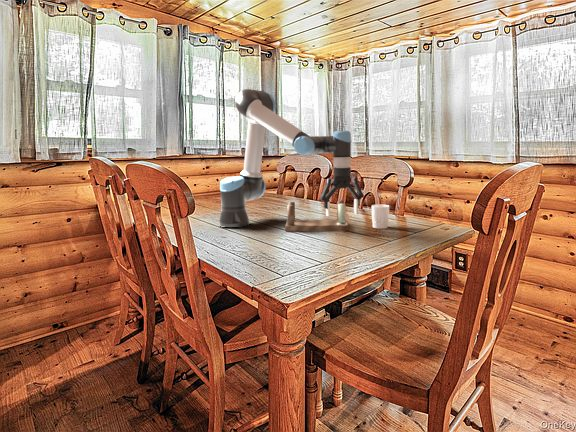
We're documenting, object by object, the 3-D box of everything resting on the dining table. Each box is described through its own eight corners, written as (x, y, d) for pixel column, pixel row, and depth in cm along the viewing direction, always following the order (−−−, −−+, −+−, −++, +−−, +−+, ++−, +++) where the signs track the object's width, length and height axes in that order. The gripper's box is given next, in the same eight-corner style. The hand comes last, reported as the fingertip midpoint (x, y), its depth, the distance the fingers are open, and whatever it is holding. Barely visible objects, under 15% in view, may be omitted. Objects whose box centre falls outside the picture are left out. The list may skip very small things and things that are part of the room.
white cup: (389, 229, 169) (390, 207, 167) (371, 229, 171) (371, 207, 169) (388, 225, 177) (388, 204, 175) (371, 225, 179) (371, 204, 177)
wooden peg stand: (285, 231, 171) (284, 206, 168) (287, 225, 184) (286, 201, 181) (348, 230, 169) (348, 205, 167) (345, 224, 182) (345, 200, 180)
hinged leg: (337, 220, 178) (337, 201, 176) (344, 220, 178) (344, 201, 176) (338, 224, 169) (338, 204, 168) (345, 224, 169) (345, 204, 167)
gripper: (318, 168, 159) (318, 218, 163) (371, 166, 166) (371, 213, 170) (312, 167, 166) (312, 215, 170) (364, 165, 173) (363, 211, 177)
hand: (342, 214), depth 170 cm, fingers open, 13 cm apart
